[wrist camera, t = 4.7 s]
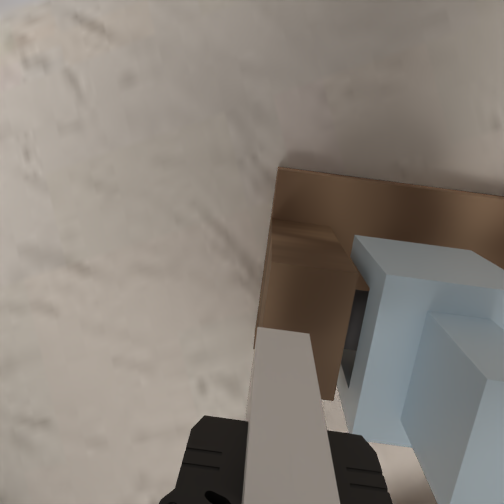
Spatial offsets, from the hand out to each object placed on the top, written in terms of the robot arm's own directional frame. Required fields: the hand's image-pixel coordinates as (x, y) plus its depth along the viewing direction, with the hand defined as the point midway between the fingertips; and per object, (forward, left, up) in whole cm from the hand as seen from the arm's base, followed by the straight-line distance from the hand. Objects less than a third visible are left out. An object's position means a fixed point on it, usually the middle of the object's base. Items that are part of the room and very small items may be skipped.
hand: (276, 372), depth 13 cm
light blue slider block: (+5, 0, -7) cm, 9 cm away
